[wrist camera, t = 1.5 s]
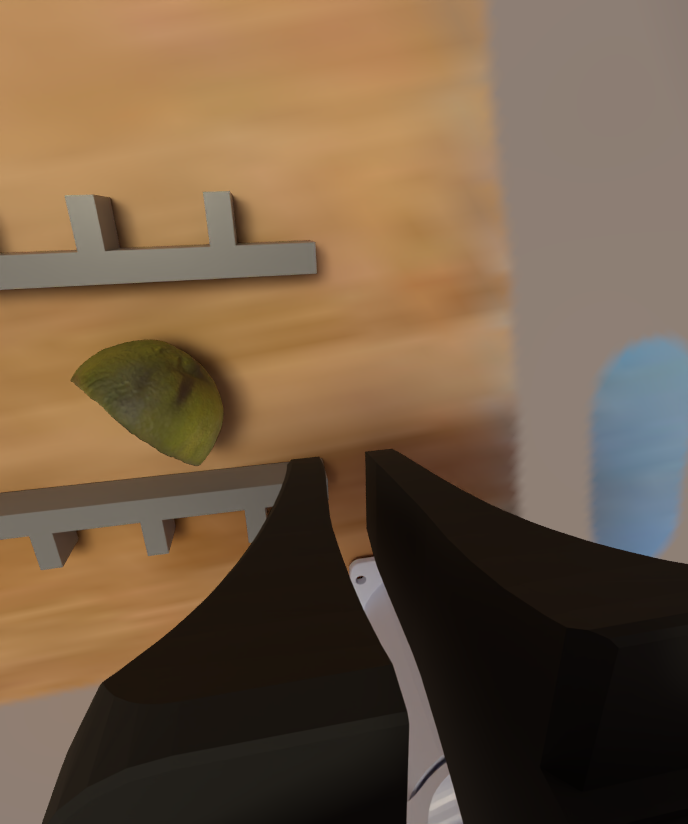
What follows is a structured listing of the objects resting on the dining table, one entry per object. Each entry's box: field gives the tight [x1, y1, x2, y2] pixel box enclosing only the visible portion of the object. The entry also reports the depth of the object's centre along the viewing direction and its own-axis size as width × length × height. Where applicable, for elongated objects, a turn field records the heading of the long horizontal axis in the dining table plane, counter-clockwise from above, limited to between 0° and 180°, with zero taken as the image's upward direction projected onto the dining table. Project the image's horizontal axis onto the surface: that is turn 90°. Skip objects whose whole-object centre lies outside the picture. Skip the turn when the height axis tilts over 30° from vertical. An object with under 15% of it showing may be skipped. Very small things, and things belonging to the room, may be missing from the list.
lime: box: [71, 340, 224, 466], centre depth 16 cm, size 4×5×5 cm
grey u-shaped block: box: [0, 191, 329, 570], centre depth 16 cm, size 13×20×3 cm, turn 92°
